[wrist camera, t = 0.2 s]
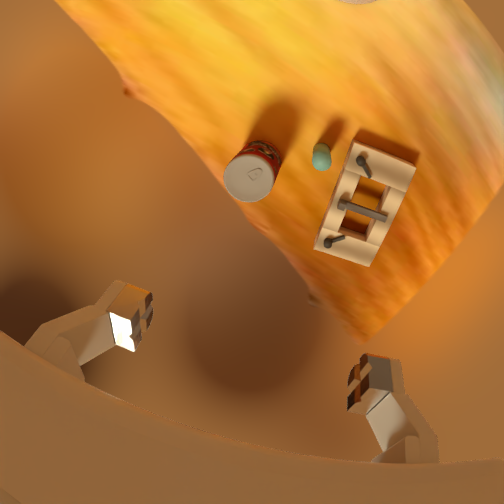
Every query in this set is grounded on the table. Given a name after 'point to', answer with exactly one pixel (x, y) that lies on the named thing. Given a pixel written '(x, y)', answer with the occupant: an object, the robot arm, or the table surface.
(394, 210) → the shelf
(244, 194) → the canned food
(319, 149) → the pale green rounded block
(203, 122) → the table surface
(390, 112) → the table surface
